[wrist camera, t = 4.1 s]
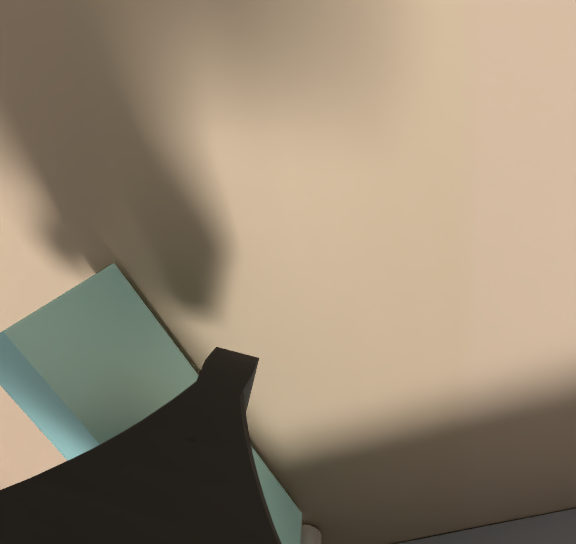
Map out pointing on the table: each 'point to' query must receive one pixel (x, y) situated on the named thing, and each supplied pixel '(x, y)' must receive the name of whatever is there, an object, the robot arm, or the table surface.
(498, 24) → the table surface
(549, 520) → the camera case
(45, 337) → the teal bar
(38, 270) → the table surface
